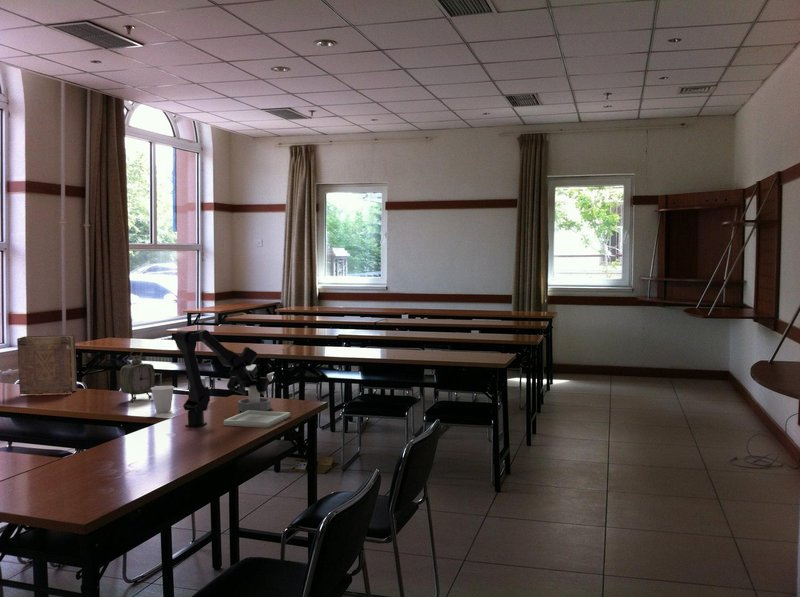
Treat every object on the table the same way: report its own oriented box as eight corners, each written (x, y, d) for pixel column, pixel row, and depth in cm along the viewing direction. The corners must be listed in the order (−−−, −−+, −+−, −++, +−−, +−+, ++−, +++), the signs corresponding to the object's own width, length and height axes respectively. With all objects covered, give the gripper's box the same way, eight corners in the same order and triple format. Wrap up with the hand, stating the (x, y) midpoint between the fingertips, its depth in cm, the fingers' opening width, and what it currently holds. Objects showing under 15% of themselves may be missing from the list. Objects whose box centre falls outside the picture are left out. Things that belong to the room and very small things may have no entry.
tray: (267, 427, 280) (267, 422, 279) (223, 425, 285) (223, 420, 285) (290, 417, 299) (290, 412, 299) (248, 414, 305) (248, 410, 304)
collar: (261, 413, 307) (260, 404, 307) (232, 411, 311) (232, 402, 311) (275, 406, 321) (275, 398, 320) (248, 405, 325) (248, 397, 324)
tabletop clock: (131, 403, 334) (129, 351, 333) (118, 401, 339) (116, 350, 337) (155, 398, 347) (153, 348, 345) (143, 396, 351) (141, 347, 350)
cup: (167, 414, 308) (166, 389, 307) (147, 413, 310) (146, 389, 309) (179, 409, 318) (178, 385, 317) (159, 409, 320) (158, 385, 319)
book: (77, 391, 370) (75, 334, 369) (72, 394, 361) (70, 336, 360) (25, 393, 366) (23, 336, 364) (19, 396, 357) (17, 338, 355)
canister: (256, 410, 313) (256, 384, 312) (246, 410, 314) (245, 383, 314) (262, 408, 318) (261, 382, 317) (252, 407, 319) (251, 381, 319)
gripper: (267, 359, 308) (279, 380, 319) (229, 358, 313) (242, 379, 324) (258, 380, 301) (271, 401, 312) (220, 379, 306) (234, 399, 317)
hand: (255, 394), depth 316 cm, fingers open, 9 cm apart
